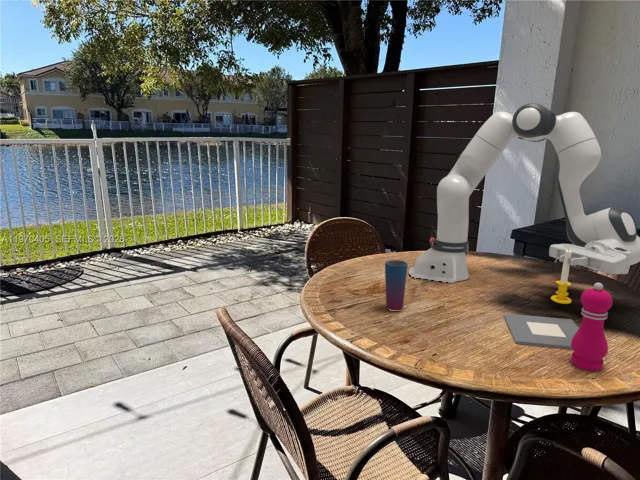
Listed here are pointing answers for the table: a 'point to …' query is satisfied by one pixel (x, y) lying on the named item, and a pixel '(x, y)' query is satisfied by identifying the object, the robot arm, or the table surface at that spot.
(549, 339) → the tile
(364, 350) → the table surface
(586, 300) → the pepper mill
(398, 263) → the cup
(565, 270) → the candle
